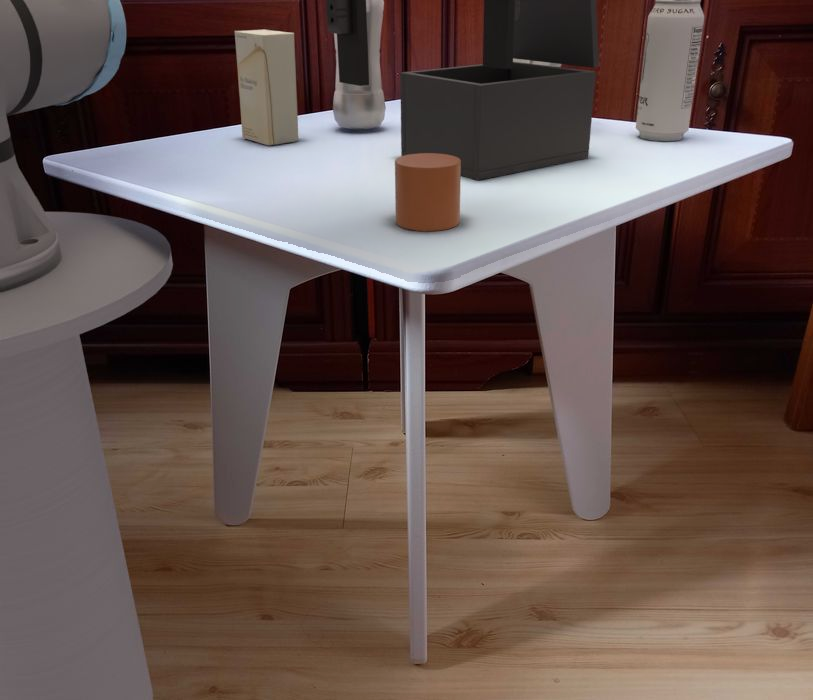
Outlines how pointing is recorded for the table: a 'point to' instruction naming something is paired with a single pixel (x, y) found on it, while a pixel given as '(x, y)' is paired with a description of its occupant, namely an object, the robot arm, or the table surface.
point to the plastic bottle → (364, 102)
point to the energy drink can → (669, 69)
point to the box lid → (557, 32)
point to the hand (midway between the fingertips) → (430, 75)
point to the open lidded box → (498, 116)
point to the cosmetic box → (267, 86)
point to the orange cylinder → (427, 191)
